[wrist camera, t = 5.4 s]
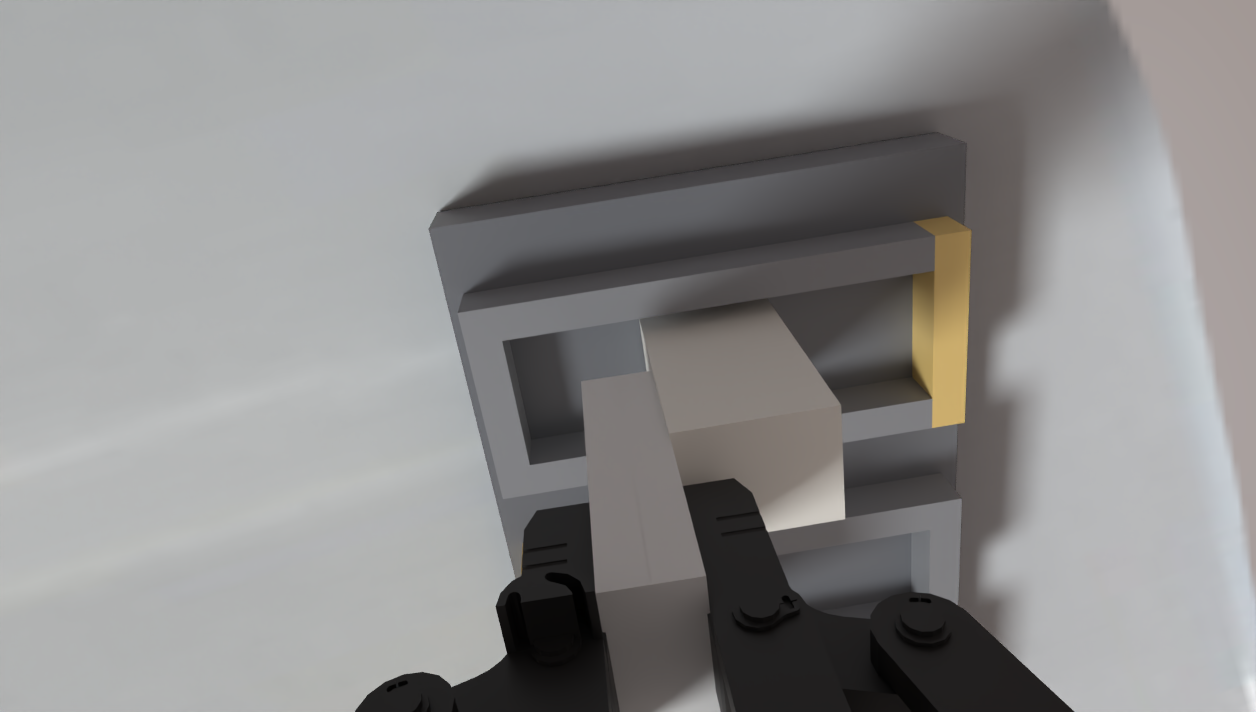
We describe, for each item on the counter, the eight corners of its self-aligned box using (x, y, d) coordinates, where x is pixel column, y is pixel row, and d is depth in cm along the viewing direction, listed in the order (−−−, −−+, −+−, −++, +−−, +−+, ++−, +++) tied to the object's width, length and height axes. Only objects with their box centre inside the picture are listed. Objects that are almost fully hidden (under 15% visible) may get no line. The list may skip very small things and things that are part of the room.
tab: (638, 317, 19) (668, 433, 14) (765, 296, 19) (841, 404, 14) (651, 407, 20) (684, 545, 15) (772, 387, 20) (845, 518, 15)
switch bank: (437, 211, 19) (420, 244, 17) (937, 132, 19) (992, 152, 17) (586, 829, 28) (590, 909, 26) (926, 770, 29) (961, 844, 26)
